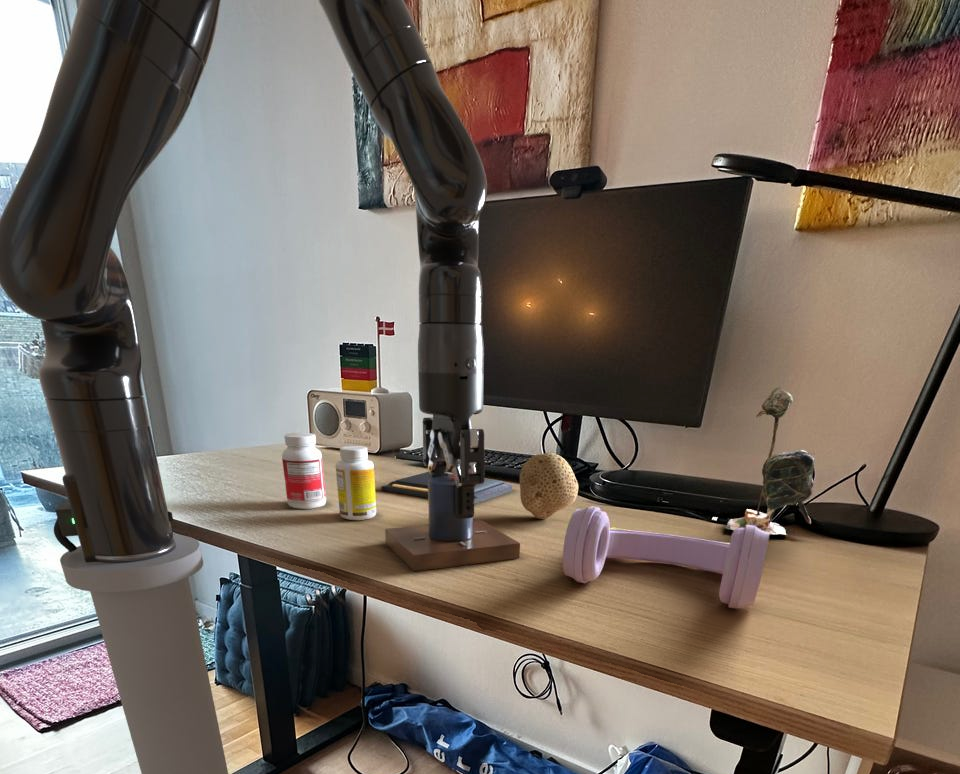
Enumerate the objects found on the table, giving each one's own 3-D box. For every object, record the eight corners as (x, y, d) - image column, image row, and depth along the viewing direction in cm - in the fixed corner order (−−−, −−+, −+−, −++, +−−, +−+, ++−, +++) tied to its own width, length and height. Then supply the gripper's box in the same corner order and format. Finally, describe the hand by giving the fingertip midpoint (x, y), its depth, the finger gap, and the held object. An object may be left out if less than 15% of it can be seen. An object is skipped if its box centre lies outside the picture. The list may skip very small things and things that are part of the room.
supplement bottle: (382, 514, 94) (379, 446, 90) (365, 522, 89) (360, 451, 85) (351, 510, 96) (346, 444, 91) (332, 518, 91) (326, 449, 87)
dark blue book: (515, 480, 111) (470, 494, 99) (515, 490, 112) (470, 506, 100) (429, 468, 121) (378, 479, 109) (429, 477, 121) (379, 490, 110)
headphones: (562, 520, 62) (609, 466, 78) (559, 603, 68) (603, 537, 83) (768, 547, 55) (775, 481, 70) (746, 637, 61) (757, 558, 76)
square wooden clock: (414, 571, 71) (413, 553, 70) (385, 543, 80) (384, 527, 79) (519, 558, 76) (520, 541, 75) (480, 533, 86) (481, 518, 85)
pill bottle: (299, 499, 102) (292, 431, 97) (333, 502, 101) (327, 433, 96) (280, 507, 96) (271, 435, 92) (315, 510, 95) (308, 438, 90)
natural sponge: (578, 514, 97) (584, 450, 92) (570, 528, 89) (577, 459, 85) (523, 509, 99) (526, 446, 94) (511, 523, 91) (514, 455, 87)
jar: (438, 543, 74) (437, 483, 71) (422, 531, 78) (421, 474, 75) (479, 539, 76) (480, 480, 73) (462, 527, 81) (462, 472, 77)
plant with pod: (800, 546, 83) (841, 390, 75) (717, 531, 89) (746, 386, 81) (810, 533, 90) (849, 388, 81) (731, 520, 95) (760, 384, 87)
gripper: (400, 366, 73) (405, 500, 80) (442, 371, 61) (444, 527, 69) (457, 367, 76) (457, 495, 83) (508, 371, 64) (503, 520, 71)
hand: (451, 509), depth 76 cm, fingers open, 8 cm apart
